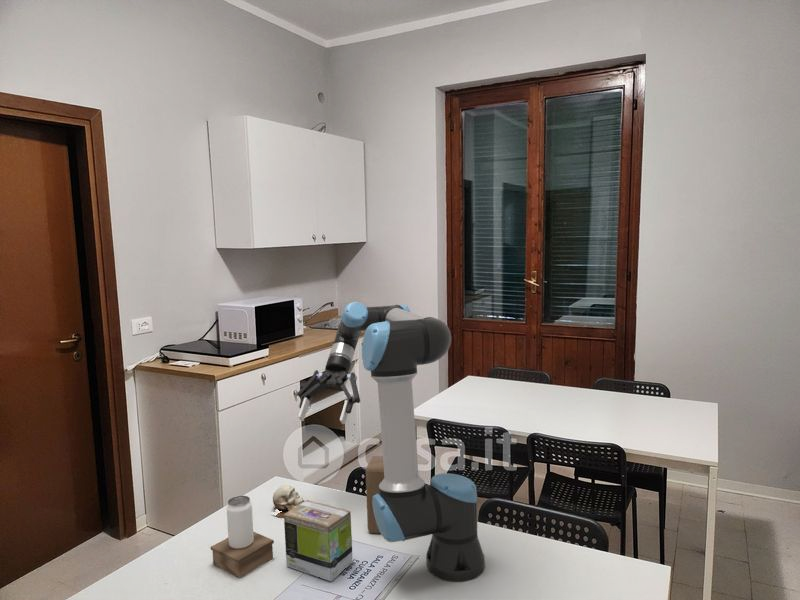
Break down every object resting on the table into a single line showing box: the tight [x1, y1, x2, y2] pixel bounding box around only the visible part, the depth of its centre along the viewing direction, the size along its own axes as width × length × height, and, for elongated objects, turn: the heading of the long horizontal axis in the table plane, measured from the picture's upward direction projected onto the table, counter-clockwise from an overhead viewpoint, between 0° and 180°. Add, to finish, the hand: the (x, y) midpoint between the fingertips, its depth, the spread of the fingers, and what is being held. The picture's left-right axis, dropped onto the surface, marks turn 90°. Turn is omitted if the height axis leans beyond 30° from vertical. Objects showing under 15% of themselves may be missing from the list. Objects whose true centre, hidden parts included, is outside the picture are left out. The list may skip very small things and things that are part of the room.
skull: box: [272, 484, 306, 518], centre depth 181 cm, size 12×10×10 cm
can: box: [226, 495, 254, 549], centre depth 151 cm, size 6×6×12 cm
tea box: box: [283, 499, 353, 582], centre depth 149 cm, size 15×10×15 cm
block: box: [365, 455, 384, 534], centre depth 168 cm, size 10×10×20 cm
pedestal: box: [210, 531, 275, 579], centre depth 152 cm, size 12×12×5 cm
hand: (321, 420), depth 169 cm, fingers open, 13 cm apart
